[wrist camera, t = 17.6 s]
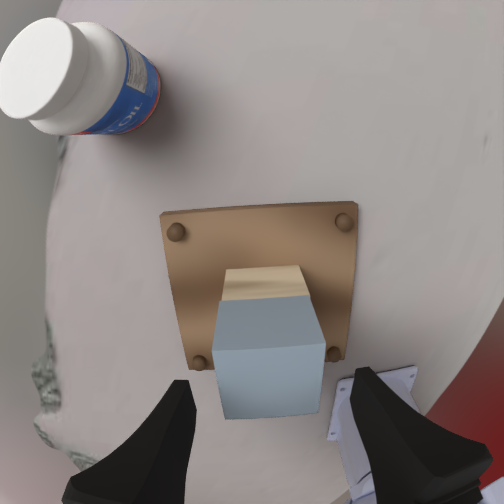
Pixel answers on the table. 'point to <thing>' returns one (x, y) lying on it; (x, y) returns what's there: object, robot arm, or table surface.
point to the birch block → (264, 283)
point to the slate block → (268, 357)
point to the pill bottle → (77, 79)
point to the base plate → (260, 263)
